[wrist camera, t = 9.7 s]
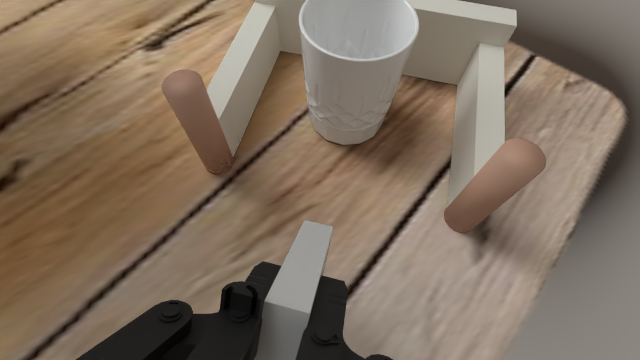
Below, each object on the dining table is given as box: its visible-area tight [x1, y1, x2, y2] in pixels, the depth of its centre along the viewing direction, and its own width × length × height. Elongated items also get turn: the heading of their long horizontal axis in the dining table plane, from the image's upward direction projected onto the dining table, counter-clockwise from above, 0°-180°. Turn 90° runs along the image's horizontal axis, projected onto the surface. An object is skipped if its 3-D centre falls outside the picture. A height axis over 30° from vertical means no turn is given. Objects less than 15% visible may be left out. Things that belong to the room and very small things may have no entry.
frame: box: [162, 0, 546, 232], centre depth 27 cm, size 17×22×9 cm
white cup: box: [299, 0, 419, 145], centre depth 26 cm, size 8×8×10 cm
